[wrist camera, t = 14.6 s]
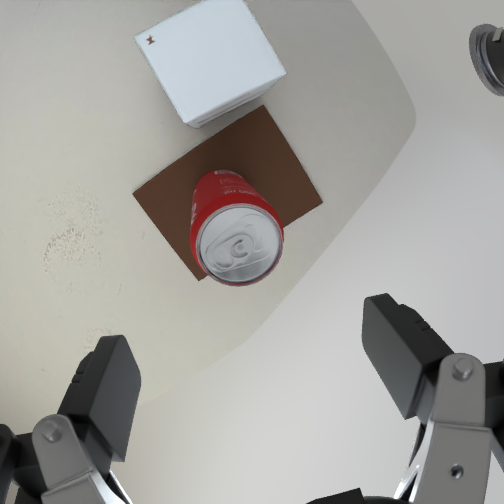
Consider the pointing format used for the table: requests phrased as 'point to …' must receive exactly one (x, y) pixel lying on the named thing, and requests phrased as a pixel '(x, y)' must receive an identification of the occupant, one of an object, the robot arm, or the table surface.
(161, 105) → the table surface
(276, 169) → the mat
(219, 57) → the white packaging box
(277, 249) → the beverage can
